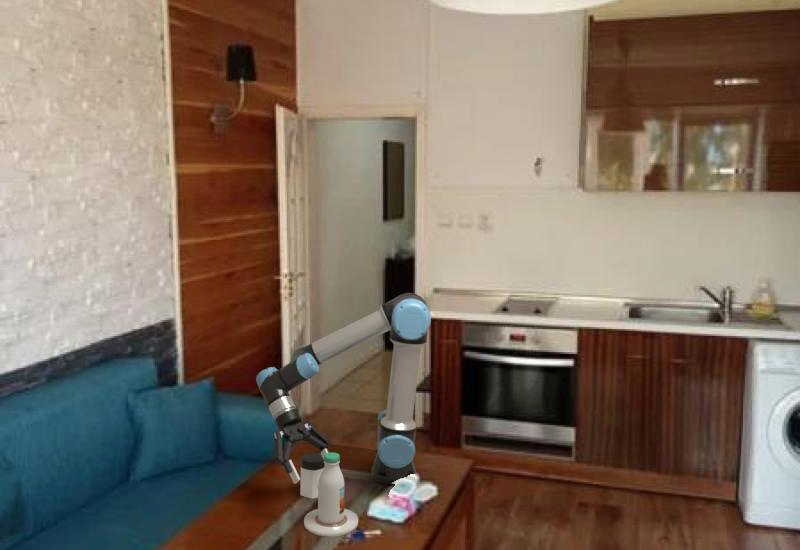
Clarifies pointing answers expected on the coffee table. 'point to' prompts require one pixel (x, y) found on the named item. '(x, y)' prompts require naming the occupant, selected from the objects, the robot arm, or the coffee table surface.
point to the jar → (311, 474)
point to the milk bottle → (331, 491)
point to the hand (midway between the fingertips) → (315, 475)
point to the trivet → (331, 529)
